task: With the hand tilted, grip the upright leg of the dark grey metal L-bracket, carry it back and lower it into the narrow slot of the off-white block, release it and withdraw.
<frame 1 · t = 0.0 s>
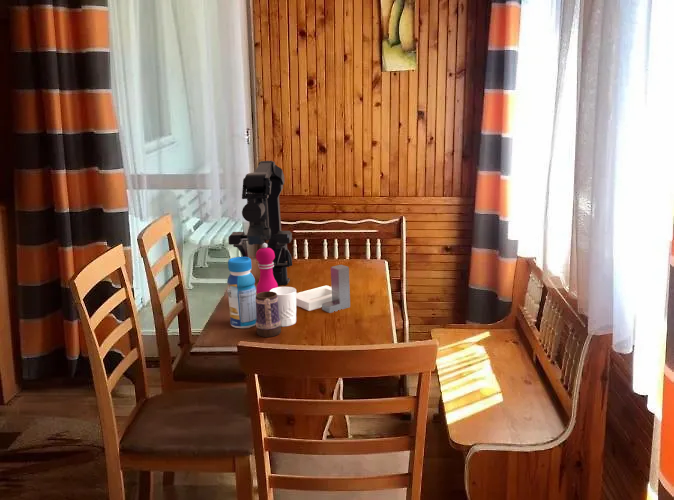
hand: (262, 264, 230), 15 cm above the table, tool pointing down, fingers open, 9 cm apart
bracket: (341, 307, 233), on the table
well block: (323, 299, 241), on the table
mug: (269, 335, 212), on the table
beverage bottle: (244, 324, 222), on the table
white cup: (284, 323, 222), on the table
pepper mill: (268, 303, 240), on the table
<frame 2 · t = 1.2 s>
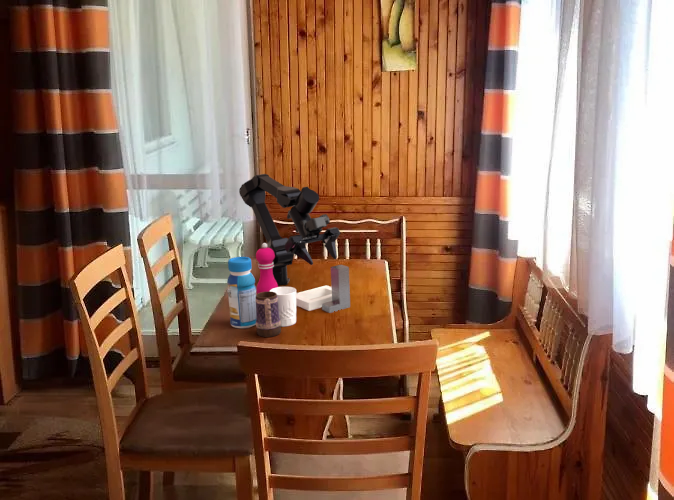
hand: (324, 261, 236), 13 cm above the table, tool tilted 45°, fingers open, 9 cm apart
nothing on the table moved.
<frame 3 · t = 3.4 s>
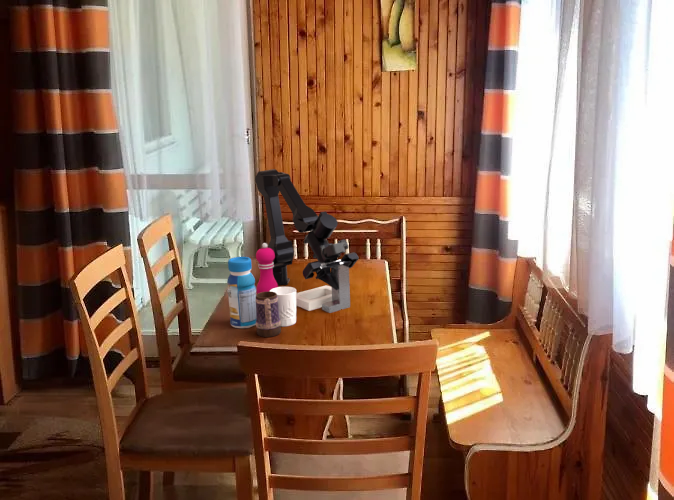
hand: (343, 287, 231), 7 cm above the table, tool tilted 45°, fingers closed on bracket, 4 cm apart
bracket: (341, 306, 233), on the table, touching gripper
everything else where it was.
when the fingers open (8 cm above the table, at t = 6.7 s): bracket drops 1 cm, resting in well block.
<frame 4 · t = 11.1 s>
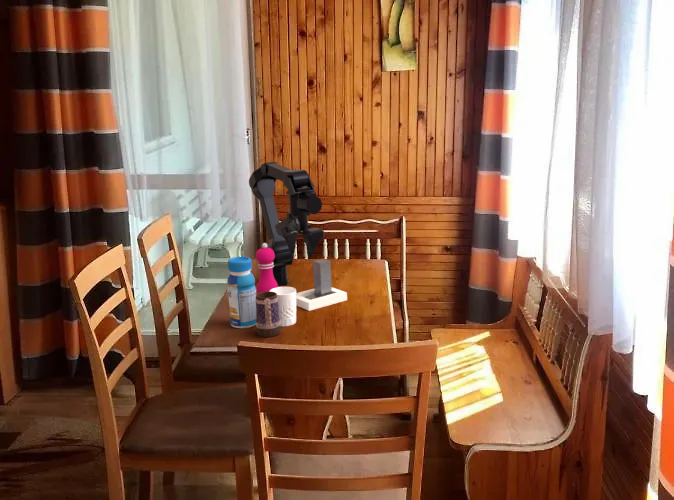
hand: (301, 256, 244), 13 cm above the table, tool pointing down, fingers open, 9 cm apart
bracket: (323, 299, 241), resting in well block
everything else where it was.
at the end: bracket 0.0 cm off-centre on the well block, point 0.0 cm above the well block's base; bracket tilted 0°; the gripper is holding nothing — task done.
